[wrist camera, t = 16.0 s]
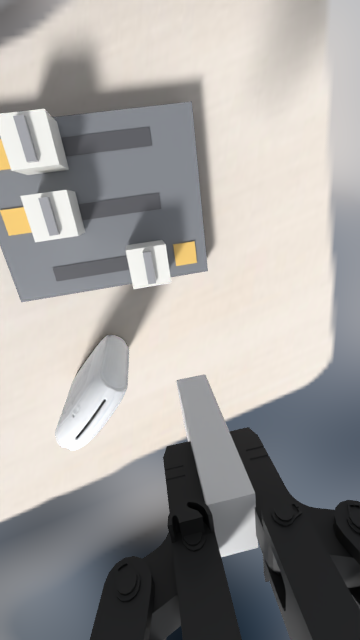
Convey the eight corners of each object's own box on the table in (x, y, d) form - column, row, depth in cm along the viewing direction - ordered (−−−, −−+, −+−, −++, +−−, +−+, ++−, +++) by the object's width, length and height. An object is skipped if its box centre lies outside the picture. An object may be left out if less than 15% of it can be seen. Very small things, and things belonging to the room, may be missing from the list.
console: (30, 294, 35) (20, 302, 32) (-27, 135, 29) (-45, 127, 26) (202, 266, 37) (208, 271, 34) (186, 110, 31) (191, 100, 28)
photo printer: (94, 396, 42) (80, 466, 31) (68, 383, 41) (42, 452, 29) (133, 344, 40) (133, 398, 29) (107, 328, 39) (96, 379, 27)
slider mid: (47, 237, 30) (33, 243, 26) (34, 197, 29) (17, 195, 24) (85, 232, 31) (77, 236, 26) (75, 191, 29) (64, 189, 25)
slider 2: (133, 280, 33) (133, 290, 29) (126, 245, 32) (125, 251, 27) (167, 274, 34) (172, 284, 29) (162, 239, 32) (166, 245, 28)
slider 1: (27, 175, 28) (8, 169, 24) (12, 127, 26) (-11, 112, 22) (69, 169, 28) (57, 163, 24) (57, 122, 27) (42, 106, 22)
